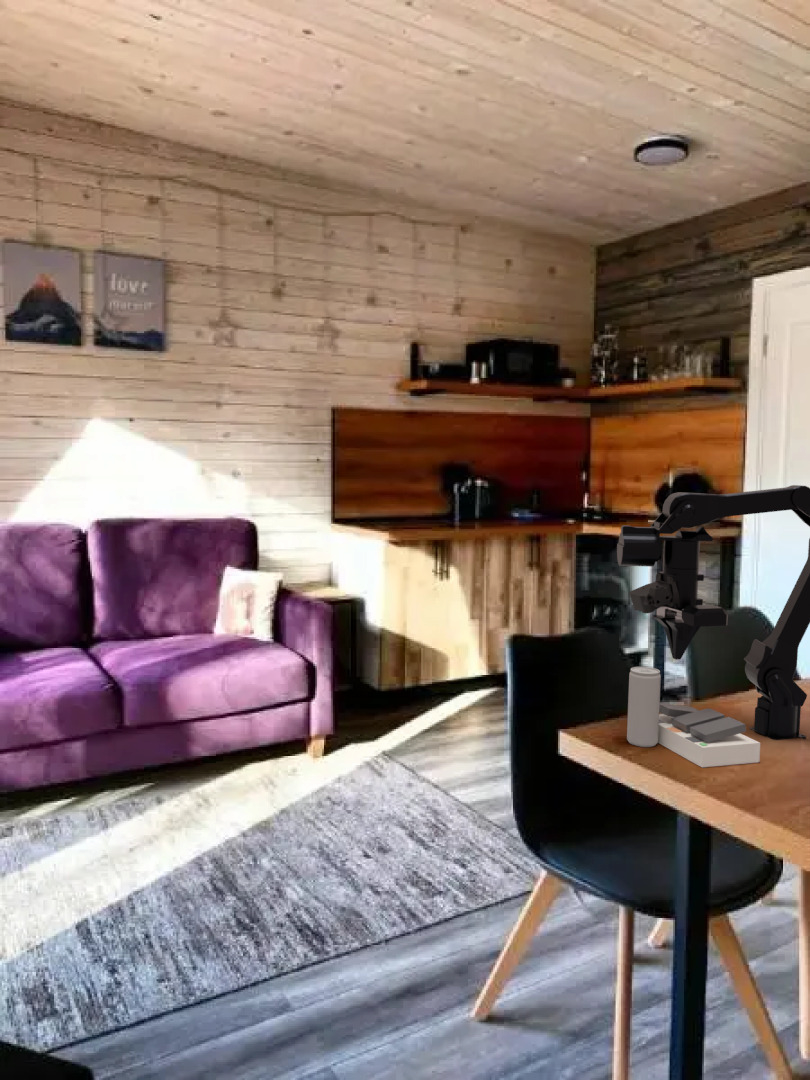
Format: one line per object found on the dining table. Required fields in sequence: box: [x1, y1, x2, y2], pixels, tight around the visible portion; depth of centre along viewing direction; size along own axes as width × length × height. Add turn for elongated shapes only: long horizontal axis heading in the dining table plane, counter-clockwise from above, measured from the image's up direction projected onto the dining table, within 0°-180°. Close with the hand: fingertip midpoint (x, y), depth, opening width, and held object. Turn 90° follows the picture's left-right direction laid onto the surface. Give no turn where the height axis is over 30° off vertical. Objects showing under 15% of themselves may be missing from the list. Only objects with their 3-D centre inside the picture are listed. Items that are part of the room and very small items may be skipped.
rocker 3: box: [690, 716, 747, 743], centre depth 131 cm, size 7×4×1 cm, turn 106°
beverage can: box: [626, 666, 662, 748], centre depth 137 cm, size 5×5×12 cm
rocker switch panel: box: [657, 713, 761, 768], centre depth 136 cm, size 10×17×3 cm, turn 16°
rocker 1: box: [659, 702, 700, 717], centre depth 140 cm, size 7×4×1 cm, turn 106°
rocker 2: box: [671, 707, 726, 733], centre depth 136 cm, size 7×4×1 cm, turn 106°
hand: (676, 659), depth 145 cm, fingers closed
